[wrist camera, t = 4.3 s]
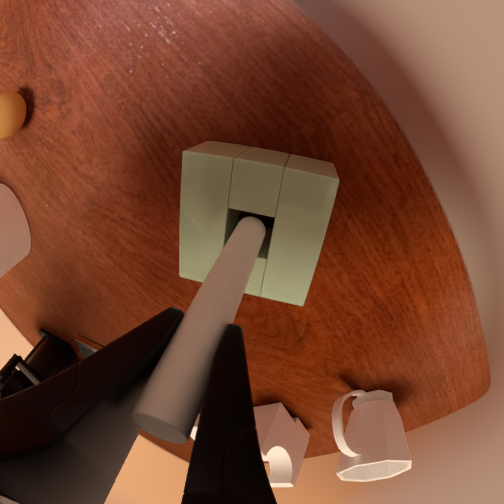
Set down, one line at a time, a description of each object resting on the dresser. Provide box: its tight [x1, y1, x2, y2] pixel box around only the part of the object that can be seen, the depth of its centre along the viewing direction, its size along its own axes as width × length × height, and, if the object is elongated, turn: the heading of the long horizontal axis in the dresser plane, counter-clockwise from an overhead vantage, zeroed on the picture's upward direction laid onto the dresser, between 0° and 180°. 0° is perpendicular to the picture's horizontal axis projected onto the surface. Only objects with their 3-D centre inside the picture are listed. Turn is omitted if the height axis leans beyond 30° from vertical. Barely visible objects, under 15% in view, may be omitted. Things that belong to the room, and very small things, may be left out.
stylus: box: [131, 217, 266, 443], centre depth 10 cm, size 1×1×11 cm
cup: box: [332, 390, 412, 482], centre depth 20 cm, size 7×10×8 cm
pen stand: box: [179, 140, 340, 306], centre depth 15 cm, size 7×7×4 cm
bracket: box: [190, 402, 310, 487], centre depth 26 cm, size 13×7×8 cm, turn 125°
